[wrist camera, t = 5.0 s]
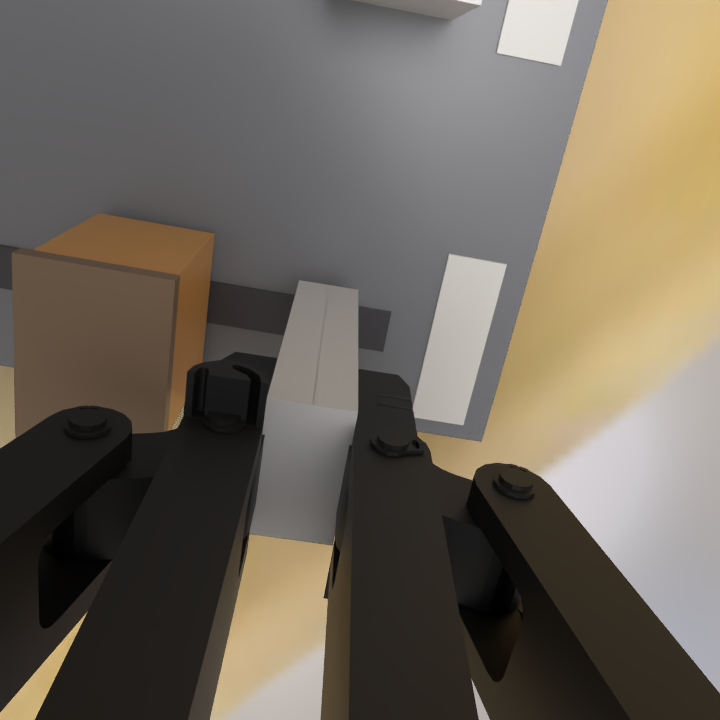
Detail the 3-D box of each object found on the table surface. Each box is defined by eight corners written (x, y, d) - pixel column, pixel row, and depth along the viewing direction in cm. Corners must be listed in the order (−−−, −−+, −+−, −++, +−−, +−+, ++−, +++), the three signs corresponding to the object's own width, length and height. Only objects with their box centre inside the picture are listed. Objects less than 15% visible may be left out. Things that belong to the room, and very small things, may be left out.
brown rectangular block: (91, 356, 19) (15, 436, 15) (95, 208, 18) (11, 252, 13) (204, 374, 19) (161, 459, 15) (219, 230, 18) (175, 280, 14)
